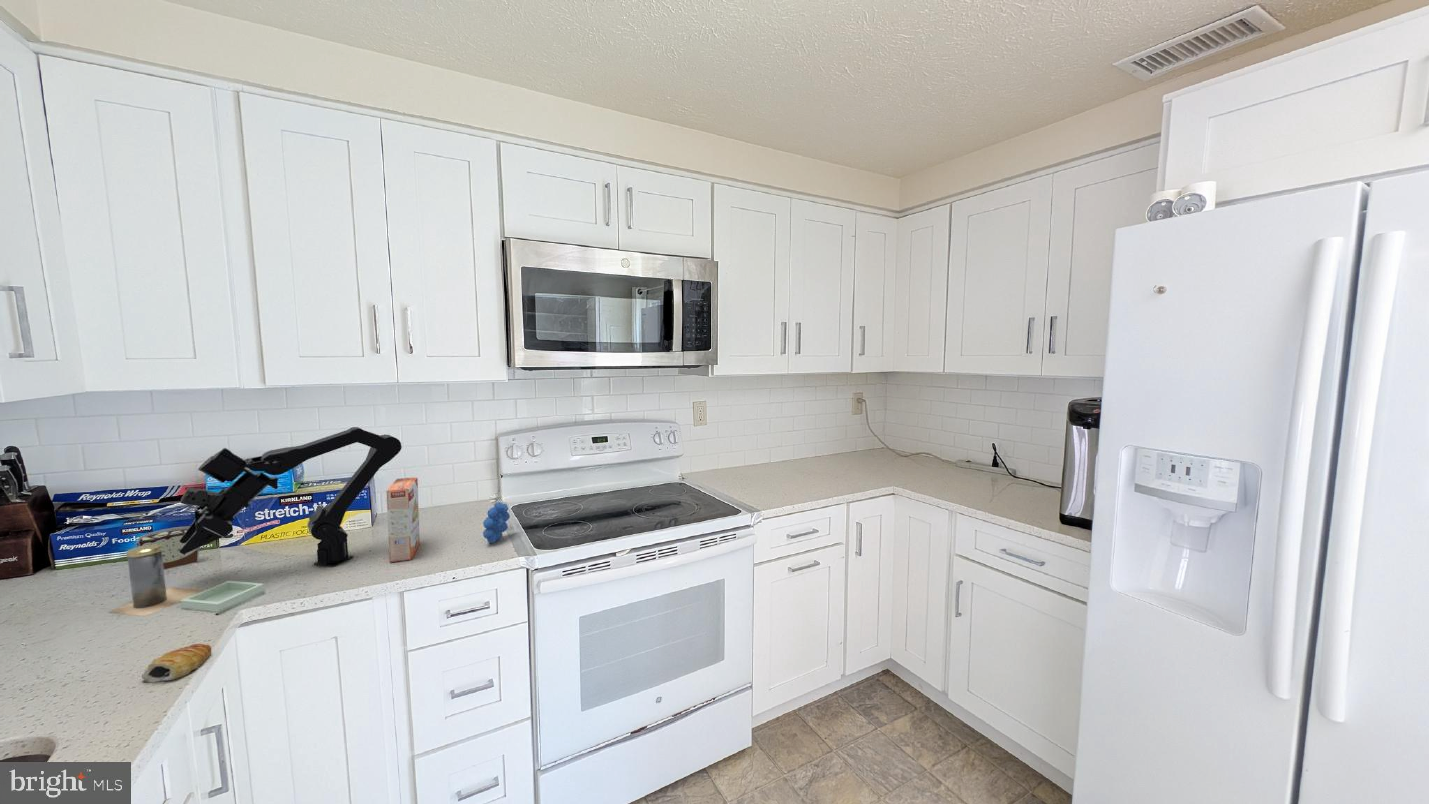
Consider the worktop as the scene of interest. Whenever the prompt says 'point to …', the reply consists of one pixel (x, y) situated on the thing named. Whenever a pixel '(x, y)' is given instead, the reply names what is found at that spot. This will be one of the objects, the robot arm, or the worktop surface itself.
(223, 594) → the dish
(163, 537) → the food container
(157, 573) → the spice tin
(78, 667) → the worktop surface
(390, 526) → the cracker box
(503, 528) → the grapes
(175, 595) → the cork mat
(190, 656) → the pastry
